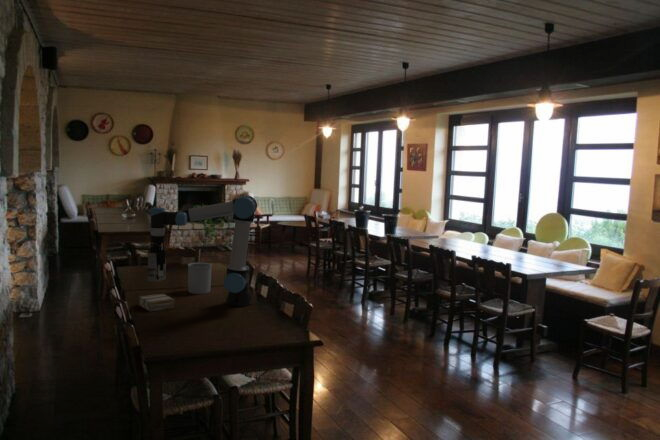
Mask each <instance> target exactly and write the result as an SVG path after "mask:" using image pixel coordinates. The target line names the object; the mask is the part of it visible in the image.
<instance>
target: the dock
mask: <svg viewBox="0 0 660 440" xmlns="http://www.w3.org/2000/svg"><path fill="white" fill-rule="evenodd" d="M175 301H176V300H175V298H173V297H170V296H169V295H168V294H167V295H166V294H165V293H157V294H149V295H141V296H140V295H139V297H138V303H139V304H138V305H139V306H140V307H141V308H143V309H145V310H147V311H149V312H156V311H157V312H158V311H164V310H171V309H175Z"/></svg>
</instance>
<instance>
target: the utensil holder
mask: <svg viewBox="0 0 660 440" xmlns="http://www.w3.org/2000/svg"><path fill="white" fill-rule="evenodd" d="M212 267H213V265H212V263H210V262H209V263H208V262H191V263H188V264H187V269H188V271H187V273H188V275H187V276H188V277H187V289H188V290H187V291H188V292H189V293H190V294H193V295H194V294H195V295H201V294H202V295H203V294H208V293H210V292H211V287H212V286H211V283H212V281H211V280H212Z"/></svg>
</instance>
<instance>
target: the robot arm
mask: <svg viewBox="0 0 660 440" xmlns="http://www.w3.org/2000/svg"><path fill="white" fill-rule="evenodd" d="M257 209H258V202H257V201H256V198H254V197H253V196H251V195H243V196H239V197H237V198H234V199H231V201H225V202H220V203H215V204H209V205H204V206H198V207H191V208H187V209H179V210H177V211H167V210H166V209H165V207H152V208H151V209H150V229H149V232H150V240H149V241H150V247H149V248H150V249H149V252H155V251H156V253H159V254H160V255H159V264H158V276H163V267H164V264H165V253H164V251H165V245H162V244H163V243H165V234H166V233H165V232H166V231H165V230H166V227H165V226H179V227H181V226H182V227H184V226H186V225H187V223H190V222H195V221H202V220H208V219H214V218H219V217H225V216H232V221H233V222H234V230H233V237H232V246H231V252H230V262H229V265H227V266H226V272H225V276H224V279H223V285H224V288H225V289H226V290H227V291H228V293H227V295H226V298H225V305H226V306H230V307H247V306H250V305H252V298H251V297H252V296H251V294H250V291H249V290H250V289H249V288H250V270H251V269H250V267H249V265H246V263H247V256H248V255H247V254H248V248H249V247H248V246H249V239H250V232H251V224H252V223H254V222H255V215H256V211H257Z"/></svg>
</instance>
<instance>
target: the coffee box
mask: <svg viewBox="0 0 660 440" xmlns="http://www.w3.org/2000/svg"><path fill="white" fill-rule="evenodd" d="M164 253H165V264H164V267H163V276H158V264H159V255H160V254H159V253H156V251H155V252H150V251H149V252H148V254H147V255H148V256H147V257H148V258H147V282H156V283H157V282H161V281H163V280H166V271H167V269H166V268H167V267H166V266H167V265H166V264H167V251H165V250H164Z"/></svg>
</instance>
